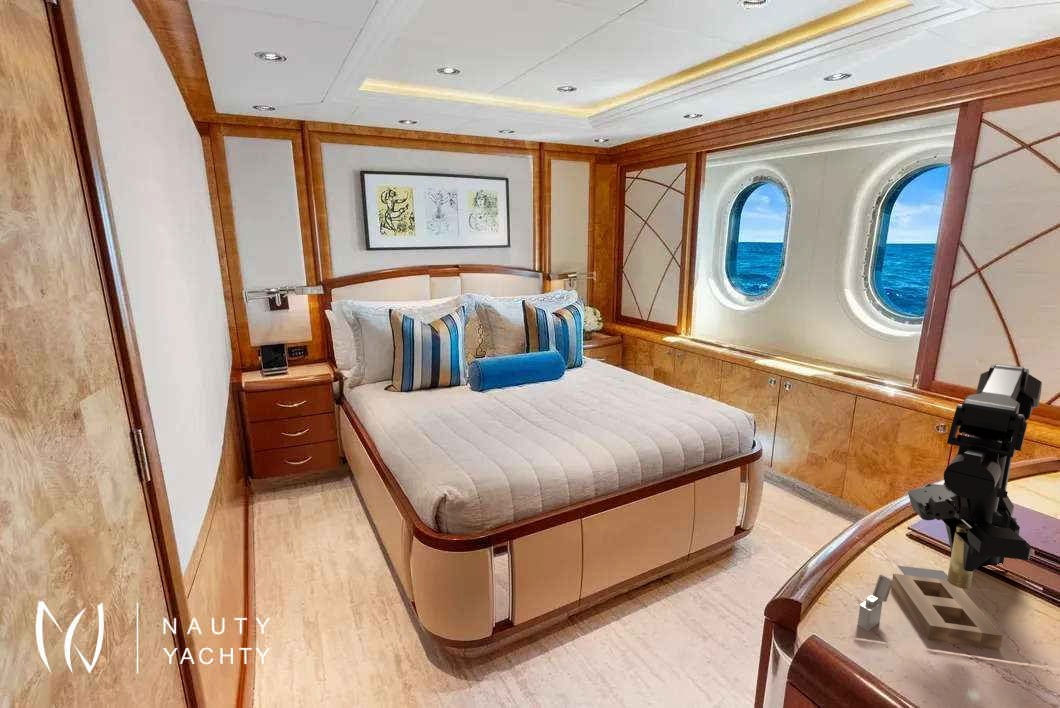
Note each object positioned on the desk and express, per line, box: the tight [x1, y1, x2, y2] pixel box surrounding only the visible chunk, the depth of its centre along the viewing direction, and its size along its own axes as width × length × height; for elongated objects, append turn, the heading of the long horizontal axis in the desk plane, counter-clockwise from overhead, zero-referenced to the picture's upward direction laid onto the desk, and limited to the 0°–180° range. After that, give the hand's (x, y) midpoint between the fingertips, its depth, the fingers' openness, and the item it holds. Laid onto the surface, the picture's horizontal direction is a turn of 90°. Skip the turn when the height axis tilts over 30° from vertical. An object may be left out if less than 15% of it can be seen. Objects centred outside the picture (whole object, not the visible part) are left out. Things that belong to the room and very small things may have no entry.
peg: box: [947, 524, 974, 590], centre depth 83 cm, size 3×3×10 cm
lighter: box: [857, 574, 893, 632], centre depth 87 cm, size 7×2×8 cm, turn 121°
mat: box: [897, 565, 948, 580], centre depth 99 cm, size 8×7×1 cm
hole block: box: [891, 573, 1003, 651], centre depth 89 cm, size 10×14×3 cm
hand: (962, 564), depth 83 cm, fingers closed on peg, 3 cm apart
